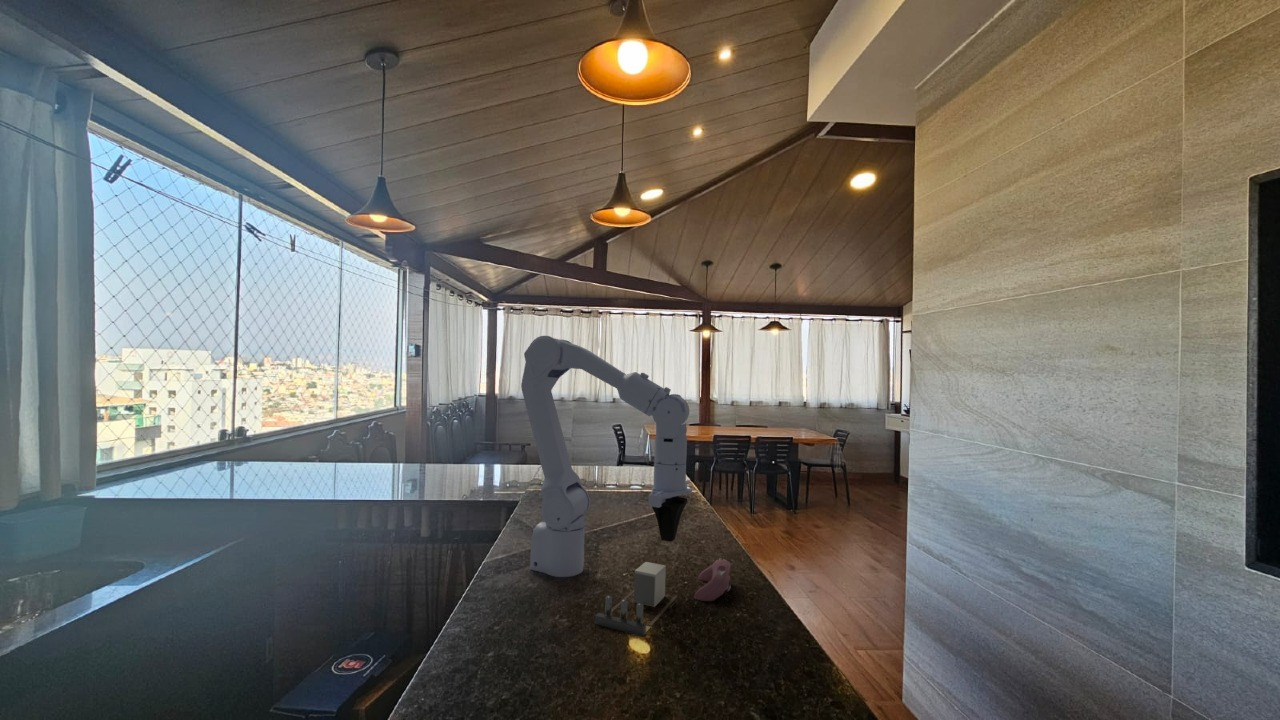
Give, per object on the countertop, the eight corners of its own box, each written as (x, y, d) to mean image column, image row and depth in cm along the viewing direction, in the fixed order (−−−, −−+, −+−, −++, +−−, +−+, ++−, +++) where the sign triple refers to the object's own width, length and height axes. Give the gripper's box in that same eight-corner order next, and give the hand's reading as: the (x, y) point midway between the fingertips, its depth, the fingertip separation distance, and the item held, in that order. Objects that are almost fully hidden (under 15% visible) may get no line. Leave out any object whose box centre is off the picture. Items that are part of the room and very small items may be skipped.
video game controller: (716, 617, 82) (736, 580, 81) (691, 601, 82) (711, 564, 82) (718, 593, 91) (737, 559, 91) (696, 579, 92) (714, 546, 92)
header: (594, 624, 73) (595, 599, 73) (601, 617, 75) (602, 593, 75) (642, 636, 70) (643, 610, 70) (648, 629, 72) (649, 604, 72)
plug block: (633, 602, 80) (634, 570, 81) (644, 591, 85) (645, 561, 85) (654, 607, 79) (655, 575, 79) (664, 596, 83) (665, 565, 84)
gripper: (677, 470, 82) (675, 555, 81) (703, 459, 95) (701, 532, 94) (638, 466, 85) (635, 548, 84) (668, 456, 98) (666, 527, 97)
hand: (667, 539), depth 89 cm, fingers closed
